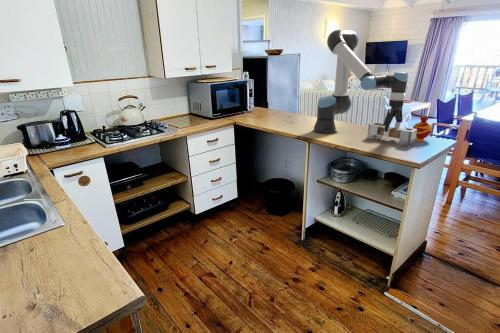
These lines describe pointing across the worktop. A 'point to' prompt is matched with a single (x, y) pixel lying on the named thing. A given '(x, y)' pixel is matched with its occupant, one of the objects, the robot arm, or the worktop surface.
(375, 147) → the worktop surface
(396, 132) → the rail
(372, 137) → the bracket
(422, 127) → the potion bottle
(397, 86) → the robot arm
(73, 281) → the worktop surface
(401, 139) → the bracket
